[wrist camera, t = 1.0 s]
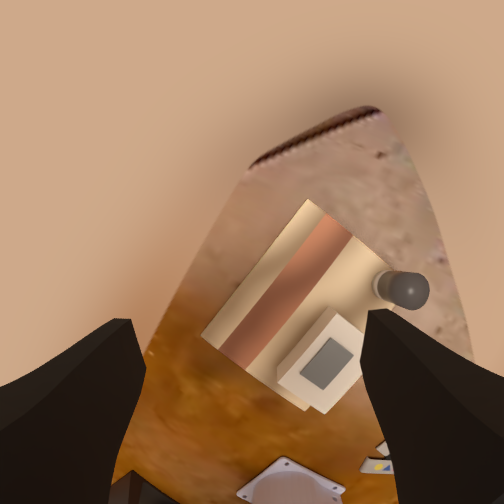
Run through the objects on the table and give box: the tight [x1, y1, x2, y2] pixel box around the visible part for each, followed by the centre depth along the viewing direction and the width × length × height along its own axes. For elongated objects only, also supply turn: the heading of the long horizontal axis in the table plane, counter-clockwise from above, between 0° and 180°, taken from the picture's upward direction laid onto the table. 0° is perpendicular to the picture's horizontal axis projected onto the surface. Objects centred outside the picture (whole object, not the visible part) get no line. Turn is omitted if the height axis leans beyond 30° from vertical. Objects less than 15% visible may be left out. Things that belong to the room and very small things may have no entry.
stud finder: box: [277, 306, 364, 414], centre depth 23 cm, size 5×7×4 cm
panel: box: [200, 199, 395, 411], centre depth 26 cm, size 12×15×1 cm
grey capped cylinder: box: [372, 270, 430, 310], centre depth 22 cm, size 3×3×6 cm
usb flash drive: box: [359, 441, 394, 474], centre depth 25 cm, size 9×5×1 cm, turn 45°
